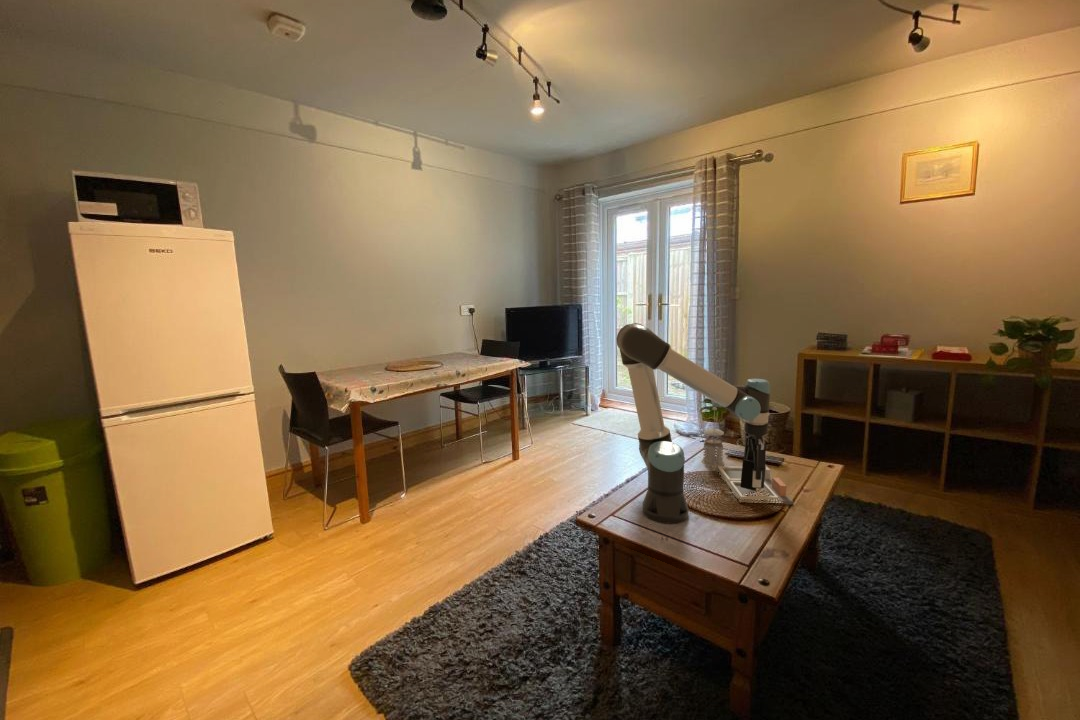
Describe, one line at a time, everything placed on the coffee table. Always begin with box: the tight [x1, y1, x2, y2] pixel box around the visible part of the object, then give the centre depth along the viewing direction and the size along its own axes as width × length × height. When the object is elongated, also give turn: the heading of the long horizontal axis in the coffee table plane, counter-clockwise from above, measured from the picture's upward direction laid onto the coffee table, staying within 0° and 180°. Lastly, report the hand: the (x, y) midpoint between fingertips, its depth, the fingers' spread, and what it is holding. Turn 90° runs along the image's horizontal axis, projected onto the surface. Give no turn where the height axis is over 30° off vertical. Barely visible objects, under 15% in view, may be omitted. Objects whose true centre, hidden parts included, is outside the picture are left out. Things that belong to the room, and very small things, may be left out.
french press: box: [700, 406, 726, 468], centre depth 187 cm, size 10×12×25 cm
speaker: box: [740, 458, 767, 491], centre depth 158 cm, size 8×6×10 cm
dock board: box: [715, 464, 794, 505], centre depth 166 cm, size 18×28×5 cm, turn 174°
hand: (753, 482), depth 159 cm, fingers closed on speaker, 6 cm apart
